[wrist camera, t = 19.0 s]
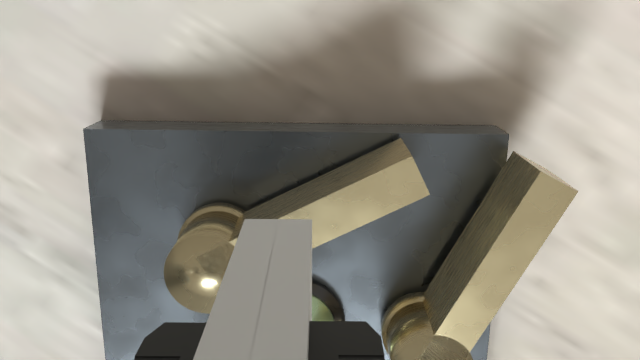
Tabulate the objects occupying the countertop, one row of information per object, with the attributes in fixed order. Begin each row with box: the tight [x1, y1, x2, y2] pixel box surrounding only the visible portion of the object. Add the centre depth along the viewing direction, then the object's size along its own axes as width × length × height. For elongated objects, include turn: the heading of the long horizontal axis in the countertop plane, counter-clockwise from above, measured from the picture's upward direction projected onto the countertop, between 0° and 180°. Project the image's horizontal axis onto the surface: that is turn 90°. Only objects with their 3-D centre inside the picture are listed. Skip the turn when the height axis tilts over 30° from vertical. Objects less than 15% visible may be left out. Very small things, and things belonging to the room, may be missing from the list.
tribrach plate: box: [83, 121, 509, 360], centre depth 35 cm, size 22×22×3 cm
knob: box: [164, 138, 430, 314], centre depth 30 cm, size 13×4×4 cm, turn 116°
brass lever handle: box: [381, 151, 578, 360], centre depth 30 cm, size 13×4×4 cm, turn 152°
